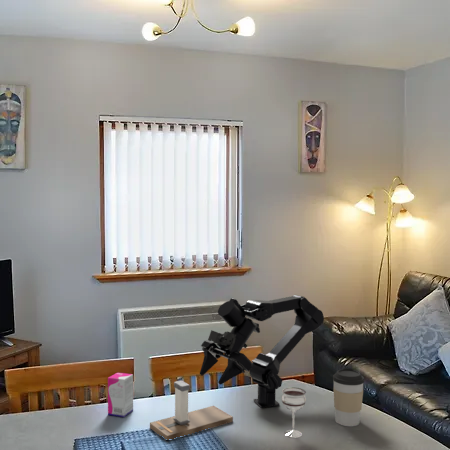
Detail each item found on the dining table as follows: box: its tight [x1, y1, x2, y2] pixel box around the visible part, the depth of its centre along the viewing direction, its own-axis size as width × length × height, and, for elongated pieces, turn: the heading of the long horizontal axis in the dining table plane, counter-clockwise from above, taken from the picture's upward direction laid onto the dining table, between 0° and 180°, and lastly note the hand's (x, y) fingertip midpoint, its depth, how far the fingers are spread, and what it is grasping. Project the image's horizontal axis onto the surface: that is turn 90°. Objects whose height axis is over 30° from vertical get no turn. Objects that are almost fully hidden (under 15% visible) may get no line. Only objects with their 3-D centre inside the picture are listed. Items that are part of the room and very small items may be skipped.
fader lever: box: [173, 380, 191, 425], centre depth 153 cm, size 3×4×11 cm
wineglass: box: [281, 387, 307, 439], centre depth 150 cm, size 7×7×12 cm
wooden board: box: [149, 405, 234, 440], centre depth 155 cm, size 22×10×2 cm, turn 125°
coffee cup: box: [332, 367, 365, 427], centre depth 158 cm, size 9×9×15 cm
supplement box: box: [107, 372, 134, 418], centre depth 163 cm, size 6×6×12 cm
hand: (209, 379), depth 157 cm, fingers open, 9 cm apart
